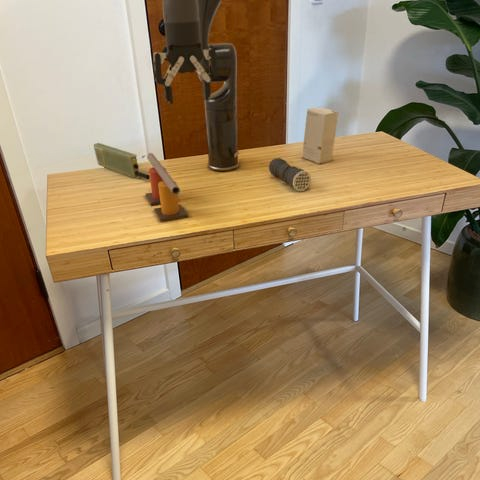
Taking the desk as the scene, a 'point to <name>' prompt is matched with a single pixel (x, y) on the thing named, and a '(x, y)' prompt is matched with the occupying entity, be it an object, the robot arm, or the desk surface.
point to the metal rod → (163, 174)
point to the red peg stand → (154, 187)
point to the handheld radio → (118, 160)
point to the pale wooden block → (319, 134)
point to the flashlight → (290, 174)
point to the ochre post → (169, 205)
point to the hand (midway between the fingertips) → (188, 101)
